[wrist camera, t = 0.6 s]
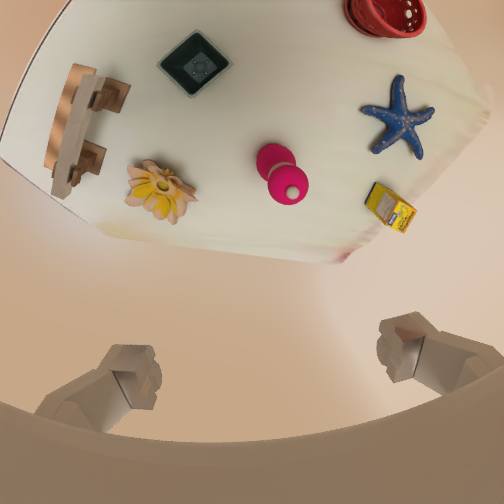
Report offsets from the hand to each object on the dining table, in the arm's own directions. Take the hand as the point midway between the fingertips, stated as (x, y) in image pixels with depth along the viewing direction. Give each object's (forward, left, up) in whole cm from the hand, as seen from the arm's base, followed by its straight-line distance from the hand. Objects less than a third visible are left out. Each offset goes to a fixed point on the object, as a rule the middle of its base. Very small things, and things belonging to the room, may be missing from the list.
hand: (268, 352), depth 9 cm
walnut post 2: (+17, -26, -48) cm, 57 cm away
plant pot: (-37, +10, -49) cm, 62 cm away
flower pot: (-8, -12, -49) cm, 51 cm away
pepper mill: (+2, +9, -49) cm, 50 cm away
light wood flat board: (+11, -35, -48) cm, 61 cm away
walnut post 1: (+3, -26, -48) cm, 55 cm away
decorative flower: (+16, -9, -49) cm, 52 cm away
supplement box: (-3, +35, -49) cm, 60 cm away
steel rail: (+10, -26, -38) cm, 47 cm away
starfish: (-21, +27, -49) cm, 60 cm away
